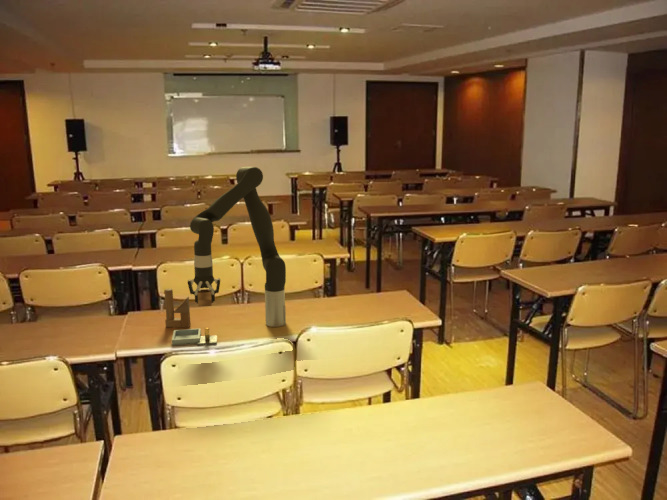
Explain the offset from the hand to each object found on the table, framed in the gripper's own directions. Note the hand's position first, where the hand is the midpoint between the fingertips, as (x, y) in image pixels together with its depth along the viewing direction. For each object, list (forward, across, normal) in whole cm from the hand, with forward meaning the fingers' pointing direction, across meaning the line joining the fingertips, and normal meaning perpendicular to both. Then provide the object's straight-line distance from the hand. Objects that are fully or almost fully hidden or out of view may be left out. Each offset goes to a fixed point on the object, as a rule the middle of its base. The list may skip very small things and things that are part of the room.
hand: (205, 302), depth 240 cm
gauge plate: (+18, 0, 0) cm, 18 cm away
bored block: (+1, 0, 0) cm, 1 cm away
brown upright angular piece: (+18, +14, -21) cm, 31 cm away
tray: (+18, +9, -4) cm, 20 cm away
